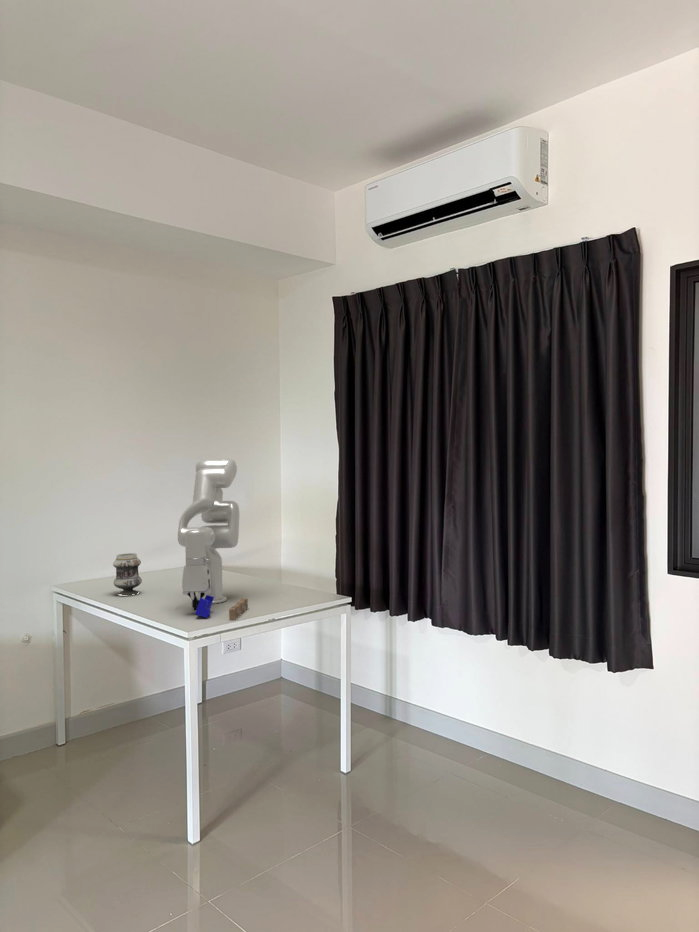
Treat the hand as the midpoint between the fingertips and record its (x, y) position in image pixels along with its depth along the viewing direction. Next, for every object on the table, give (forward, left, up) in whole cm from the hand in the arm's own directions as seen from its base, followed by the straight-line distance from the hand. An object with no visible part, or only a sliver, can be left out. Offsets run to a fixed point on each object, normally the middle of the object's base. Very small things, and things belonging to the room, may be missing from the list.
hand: (196, 609), depth 267 cm
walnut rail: (0, +16, -2) cm, 16 cm away
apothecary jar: (-40, -45, -2) cm, 60 cm away
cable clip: (+2, +3, -1) cm, 4 cm away
